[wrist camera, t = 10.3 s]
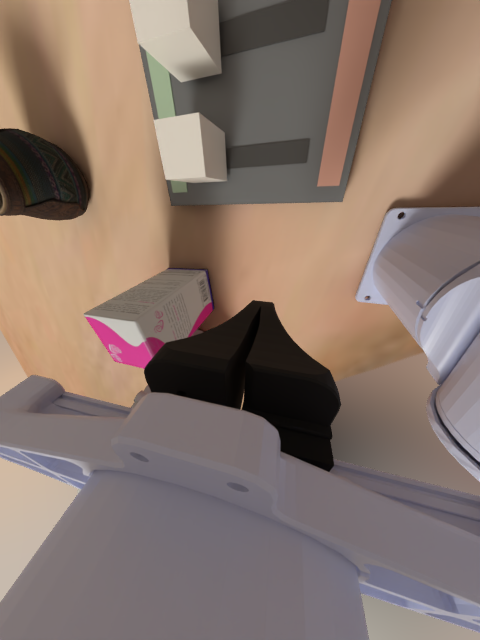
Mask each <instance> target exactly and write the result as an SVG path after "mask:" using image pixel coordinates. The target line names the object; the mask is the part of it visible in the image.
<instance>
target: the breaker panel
mask: <svg viewBox="0 0 480 640" xmlns="http://www.w3.org/2000/svg"><path fill="white" fill-rule="evenodd" d="M391 2H392V0H218V12H219V32H220V51H221V70H222V73H221V74H217V75H212V76H207V77H203V78H198V79H194V80H189V81H185V82H180V81H179V80H178V79H177V78H176V77H174V76H173V75H172V74H171V73H170V72H169V71H168V70H167V69H166V68H165V67H163V66H162V65H161V64H160V63H159V62H158V61H157V60H156V59H155V58H154V57H152V56H151V55H150V54H149V53H148V52H147V51H146V50H145V49H144V48H143V47H141V46H140V45H139V47H140V52H141V57H142V62H143V67H144V72H145V77H146V82H147V87H148V92H149V97H150V102H151V107H152V112H153V117H154V120H156V119H162V118H168V117H174V116H180V115H186V114H192V113H198V112H199V113H200V114H202V115H203V116H204V117H205V118H207V119H208V120H209V121H211V122H212V123H213V124H214V125H216V126H217V127H218V128H219V129H221V130H222V131H223V132H225V147H226V167H227V181H221V182H203V183H190V182H182V181H173V180H166V181H167V186H168V191H169V196H170V201H171V206H177V205H222V204H266V203H311V202H343V197H344V193H345V189H346V185H347V181H348V177H349V173H350V169H351V165H352V161H353V157H354V153H355V149H356V144H357V140H358V136H359V132H360V128H361V124H362V120H363V116H364V112H365V108H366V104H367V100H368V95H369V91H370V87H371V83H372V79H373V75H374V71H375V67H376V63H377V59H378V55H379V51H380V46H381V42H382V38H383V34H384V30H385V26H386V22H387V18H388V14H389V10H390V6H391Z"/></svg>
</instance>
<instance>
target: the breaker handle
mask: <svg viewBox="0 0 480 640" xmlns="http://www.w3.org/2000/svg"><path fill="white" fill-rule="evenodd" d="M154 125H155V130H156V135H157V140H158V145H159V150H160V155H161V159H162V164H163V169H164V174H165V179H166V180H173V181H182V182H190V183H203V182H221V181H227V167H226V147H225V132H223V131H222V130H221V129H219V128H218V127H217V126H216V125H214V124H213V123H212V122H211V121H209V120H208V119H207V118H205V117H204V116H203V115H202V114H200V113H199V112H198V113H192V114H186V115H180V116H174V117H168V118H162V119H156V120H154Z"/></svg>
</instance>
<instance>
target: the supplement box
mask: <svg viewBox="0 0 480 640" xmlns="http://www.w3.org/2000/svg"><path fill="white" fill-rule="evenodd" d="M213 310H214V303H213V298H212V292H211V287H210V281H209V275H208V270H207V269H183V268H168V269H166V270H165V271H163V272H161V273H159V274H157V275H155V276H154V277H152V278H150V279H148V280H146V281H144V282H142V283H140V284H138V285H137V286H135V287H133V288H131V289H129V290H127V291H125V292H123V293H121V294H120V295H118V296H116V297H114V298H112V299H110V300H108V301H106V302H104V303H103V304H101V305H99V306H97V307H95V308H93V309H91V310H89V311H88V312H86V313H84V316H85V317H86V319H87V320H88V322H89V323H90V325H91V326H92V328H93V329H94V331H95V332H96V334H97V335H98V337H99V338H100V340H101V341H102V343H103V344H104V346H105V347H106V349H107V350H108V352H109V353H110V355H111V356H112V358H113V359H114V361H115V362H119V363H123V364H127V365H132V366H136V367H140V368H144V369H145V367H146V365H147V364H148V362H149V361H150V360H151V359H152V358H153V357H154V355H155V354H156V353H157V352H158V351H159V350H160V348H161V347H162V346H163V345H164V344H165V343H166V342H170V341H175V340H179V339H184V338H187V337H191V336H192V334H193V333H194V332H195V331H196V330H197V329H198V327H199V326H200V325H201V324H202V323H203V321H204V320H205V319H206V318H207V317H208V316H209V314H210V313H211V312H212V311H213Z"/></svg>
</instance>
